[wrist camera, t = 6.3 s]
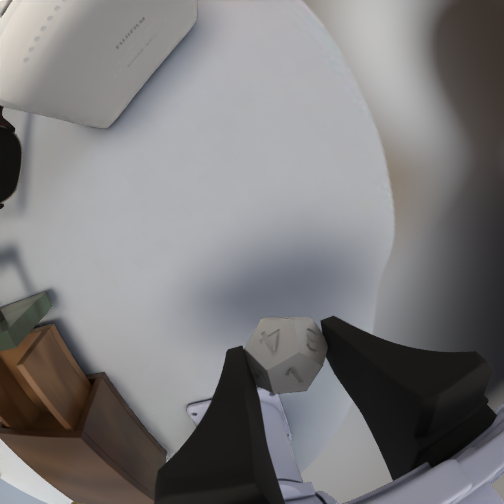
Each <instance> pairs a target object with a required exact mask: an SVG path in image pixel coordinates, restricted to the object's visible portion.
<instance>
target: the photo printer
mask: <svg viewBox="0 0 504 504" xmlns="http://www.w3.org/2000/svg"><path fill="white" fill-rule="evenodd" d="M197 16H198V11H197V0H0V105H1V106H3V107H6V108H11V109H16V110H20V111H25V112H30V113H34V114H39V115H43V116H48V117H52V118H56V119H60V120H64V121H68V122H72V123H76V124H80V125H84V126H88V127H93V128H102V129H107V128H108V127H109V126H110V125H111V124H112V123H113V122H114V121H115V120H116V119H117V118H118V117H119V115H120V114H121V113H122V112H123V110H124V109H125V108H126V106H127V105H128V104H129V103H130V101H131V100H132V99H133V97H134V96H135V95H136V94H137V92H138V91H139V90H140V89H141V87H142V86H143V85H144V84H145V82H146V81H147V80H148V79H149V78H150V76H151V75H152V74H153V73H154V71H155V70H156V69H157V68H158V67H159V66H160V64H161V63H162V62H163V61H164V60H165V58H166V57H167V56H168V55H169V54H170V52H171V51H172V50H173V49H174V48H175V47H176V46H177V44H178V43H179V42H180V41H181V40H182V39H183V38H184V37H185V35H186V34H187V33H188V32H189V31H190V29H191V28H192V27H193V25H194V24H195V22H196V20H197Z"/></svg>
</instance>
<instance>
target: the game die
mask: <svg viewBox="0 0 504 504" xmlns="http://www.w3.org/2000/svg"><path fill="white" fill-rule="evenodd" d="M327 349H328V345H327V342H326V340H325V337H324V336H323V334H322V332H321V331H320V329H319V328H318V326H317V324H316V323H315V321H314V320H313V318H305V317H264V318H262V319H261V320H260V322H259V324H258V325H257V327H256V329H255V331H254V333H253V334H252V336H251V338H250V340H249V342H248V344H247V345H246V347H245V349H244V353H245V356H246V359H247V362H248V364H249V367H250V370H251V373H252V376H253V378H254V381H255V384H256V385H257V386H258V387H260V388H262V389H264V390H266V391H268V392H270V393H273V394H281V393H292V392H302V391H307V389H308V388H309V386H310V385H311V383H312V382H313V380H314V379H315V377H316V376H317V374H318V373H319V371H320V369H321V368H322V366H323V363H324V360H325V356H326V353H327Z"/></svg>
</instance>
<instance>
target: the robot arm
mask: <svg viewBox="0 0 504 504" xmlns="http://www.w3.org/2000/svg"><path fill="white" fill-rule="evenodd" d="M320 321H321V327H322V334H323V336H324V337H325V340H326V342H327V345H328V349H327V353H326V358H327V360H328V362H329V364H330V366H331V368H332V370H333V372H334V374H335V375H336V377H337V378H338V380H339V381H340V382H341V384H342V385H343V387H344V388H345V390H346V391H347V393H348V394H349V395H350V397H351V398H352V400H353V401H354V403H355V404H356V406H357V407H358V408H359V410H360V412H361V413H362V415H363V417H364V419H365V421H366V423H367V425H368V426H369V428H370V430H371V432H372V434H373V437H374V439H375V441H376V443H377V445H378V447H379V449H380V451H381V454H382V456H383V458H384V460H385V462H386V465H387V467H388V470H389V472H390V475H391V477H392V479H393V481H392V482H390V483H388V484H386V485H384V486H382V487H380V488H378V489H376V490H374V491H372V492H370V493H367V494H365V495H363V496H360V497H358V498H356V499H353V500H351V501H348V502H346V503H343V504H504V501H503V500H502V499H501V497H500V496H499V495H498V493H497V492H496V491H495V489H494V488H493V487H492V486H491V484H492V483H494V481H496V480H497V479H498V478H499V477H500V476H501V475H502V474H503V473H504V402H503V403H502V404H501V405H500V406H499V407H498V408H497V409H496V410H495V411H493V410H492V409H491V408H490V407H489V406H488V405H487V403H488V399H487V398H486V397H485V396H484V393H485V390H486V387H487V385H488V382H489V380H490V377H491V373H492V366H491V364H490V363H489V362H488V361H487V360H486V359H484V358H483V357H482V356H481V355H480V354H478V353H477V352H437V351H428V350H422V349H416V348H411V347H407V346H403V345H400V344H396V343H393V342H390V341H387V340H384V339H381V338H379V337H376V336H374V335H371V334H369V333H367V332H365V331H363V330H360V329H358V328H356V327H354V326H352V325H350V324H348V323H346V322H345V321H343V320H341V319H339V318H337V317H335V316H332V317H329V318H326V319H323V320H320ZM187 412H188V414H189V415H190V417H191V418H192V420H193V421H194V423H195V424H196V426H197V427H196V429H195V430H194V432H193V433H192V435H191V436H190V437H189V438H188V440H187V441H186V442H185V443H184V445H183V446H182V447H181V448H180V449H179V451H178V452H177V453H176V454H175V455H174V456H173V457H172V458H171V459H170V460H169V461H168V462H167V463H165V464H164V465H163V466H162V467H161V468H160V469H159V470H158V472H157V477H156V482H155V494H154V504H338V502H337V501H336V500H335V499H334V498H332V497H331V496H329V495H328V494H327V493H325V492H323V491H317V492H315V491H314V488H313V485H312V483H311V482H307V483H303V481H302V478H301V475H300V472H299V469H298V466H297V463H296V460H295V457H294V454H293V451H292V448H291V445H290V442H291V441H292V440H293V437H292V434H291V431H290V428H289V425H288V422H287V419H286V416H285V413H284V410H283V407H282V404H281V401H280V398H279V395H278V394H273V393H271V394H270V392H268V391H266V390H264V389H262V388H260V387H259V388H257V387H256V384H255V381H254V378H253V376H252V373H251V370H250V367H249V364H248V362H247V359H246V356H245V353H244V349H243V346H239V347H235V348H232V349H228V351H227V352H226V358H225V362H224V366H223V370H222V373H221V377H220V380H219V383H218V386H217V388H216V391H215V393H214V395H213V398H212V400H209V401H204V402H200V403H195V404H190V405H188V406H187ZM193 412H195V413H193Z"/></svg>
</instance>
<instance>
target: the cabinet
mask: <svg viewBox="0 0 504 504" xmlns="http://www.w3.org/2000/svg"><path fill="white" fill-rule="evenodd" d="M85 376H86V377H87V379H88V380H89V382H90V383H91V385H92V386H93V387H92V390H91V392H90V395H89V397H88V400H87V403H86V405H85V408H84V411H83V413H82V416H81V419H80V422H79V424H78V427H77V430H76V431H34V430H19V429H9V428H7V427H6V426H5V425H4V424H3V423H2V422H1V421H0V438H1V440H2V441H3V442H4V443H5V444H6V445H7V446H8V447H9V448H10V449H11V450H12V451H13V452H14V453H15V454H16V455H17V456H18V457H19V458H21V459H22V460H23V461H24V462H25V463H26V464H27V465H28V466H29V467H30V468H32V469H33V470H34V471H35V472H36V473H37V474H39V475H40V476H41V477H42V478H43V479H45V480H46V481H47V482H48V483H50V484H51V485H52V486H53V487H55V488H56V489H57V490H59V491H60V492H61V493H63V494H64V495H65V496H67V497H68V498H70V499H71V500H73V501H74V502H76V503H83V504H154V494H155V482H156V477H157V472H158V470H159V469H160V468H161V467H162V466H163V465H164V464H165V463H166V451H165V450H164V449H163V448H162V447H161V446H160V445H159V444H158V442H157V441H156V440H155V439H154V438H153V437H152V435H151V434H150V433H149V432H148V431H147V429H146V428H145V427H144V426H143V425H142V423H141V422H140V421H139V420H138V418H137V417H136V416H135V415H134V413H133V412H132V411H131V409H130V408H129V407H128V405H127V404H126V403H125V401H124V400H123V399H122V397H121V396H120V394H119V393H118V392H117V390H116V389H115V387H114V386H113V384H112V383H111V382H110V380H109V379H108V377H107V376H106V374H105V373H104V372H102V373H96V374H90V375H85Z"/></svg>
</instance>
